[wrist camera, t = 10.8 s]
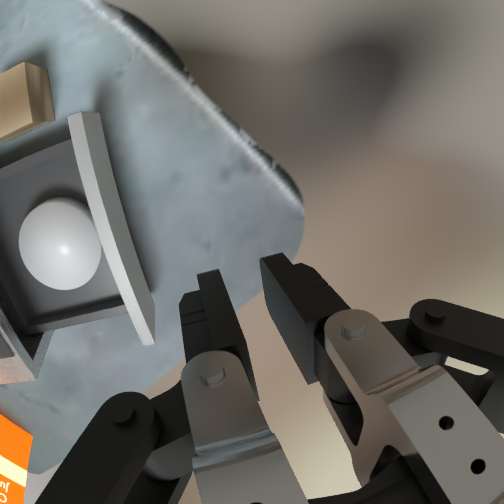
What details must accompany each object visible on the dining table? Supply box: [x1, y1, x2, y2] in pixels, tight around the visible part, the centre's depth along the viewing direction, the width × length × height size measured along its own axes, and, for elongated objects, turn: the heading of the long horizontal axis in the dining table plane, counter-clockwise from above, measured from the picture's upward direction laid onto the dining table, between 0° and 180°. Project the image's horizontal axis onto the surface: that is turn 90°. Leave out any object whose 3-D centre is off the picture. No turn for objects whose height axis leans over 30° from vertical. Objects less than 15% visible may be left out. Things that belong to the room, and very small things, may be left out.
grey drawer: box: [0, 112, 155, 346], centre depth 17 cm, size 15×12×4 cm
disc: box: [19, 197, 103, 290], centre depth 17 cm, size 6×6×2 cm
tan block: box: [0, 61, 55, 143], centre depth 13 cm, size 4×4×4 cm
